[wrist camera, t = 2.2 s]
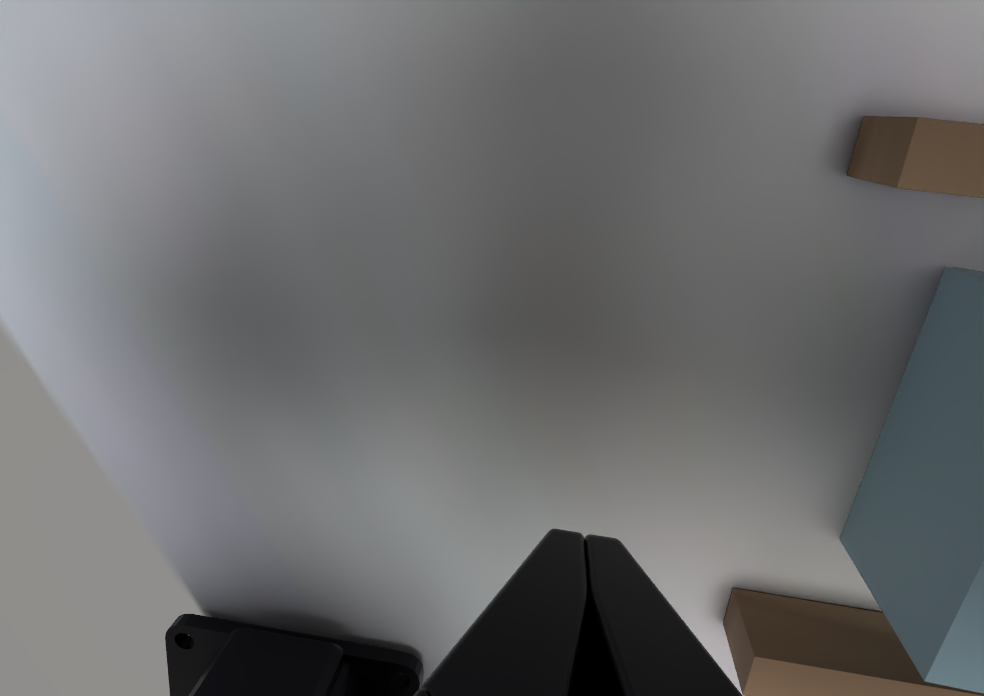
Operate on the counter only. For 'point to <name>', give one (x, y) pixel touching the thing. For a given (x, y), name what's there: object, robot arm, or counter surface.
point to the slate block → (932, 494)
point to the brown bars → (832, 628)
